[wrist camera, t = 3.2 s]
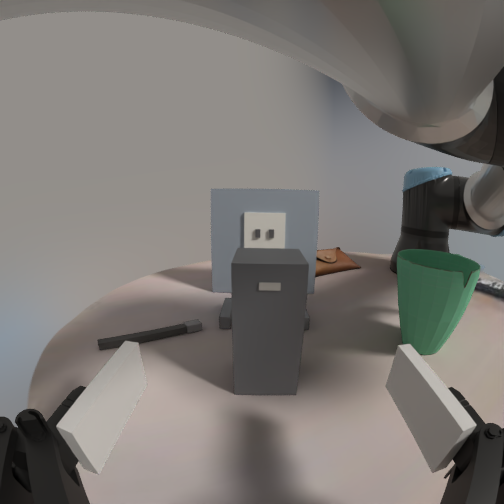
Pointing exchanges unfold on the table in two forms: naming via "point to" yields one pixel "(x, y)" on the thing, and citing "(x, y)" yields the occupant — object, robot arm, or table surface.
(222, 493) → the table surface
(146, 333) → the grey long bar
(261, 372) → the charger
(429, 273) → the mug
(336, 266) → the sunglasses case
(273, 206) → the outlet board
